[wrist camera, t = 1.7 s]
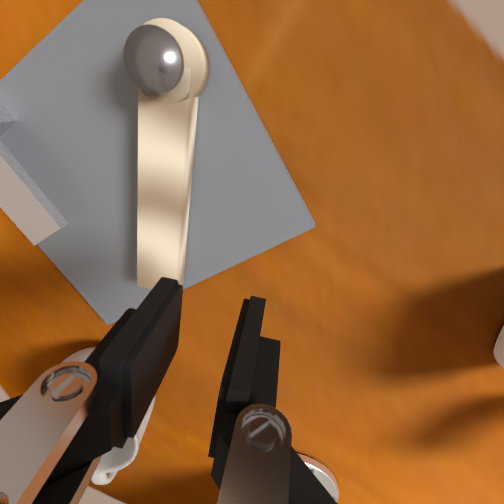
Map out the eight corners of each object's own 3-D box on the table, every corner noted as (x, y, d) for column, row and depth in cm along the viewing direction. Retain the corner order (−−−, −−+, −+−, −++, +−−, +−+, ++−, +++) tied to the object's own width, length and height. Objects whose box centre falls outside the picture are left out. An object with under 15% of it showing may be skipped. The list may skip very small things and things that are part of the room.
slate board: (315, 222, 25) (315, 226, 24) (113, 319, 32) (107, 325, 31) (164, -63, 19) (157, -71, 18) (-46, 134, 26) (-58, 136, 25)
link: (143, 19, 20) (111, 2, 16) (213, 32, 20) (195, 18, 16) (140, 272, 28) (118, 297, 24) (190, 283, 28) (174, 309, 24)
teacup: (68, 321, 33) (4, 383, 26) (169, 342, 33) (133, 411, 25) (81, 411, 39) (32, 481, 32) (166, 430, 39) (136, 506, 32)
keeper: (96, 208, 27) (59, 228, 23) (72, 224, 28) (33, 246, 24) (8, 95, 24) (-52, 94, 20) (-16, 117, 25) (-78, 120, 21)
